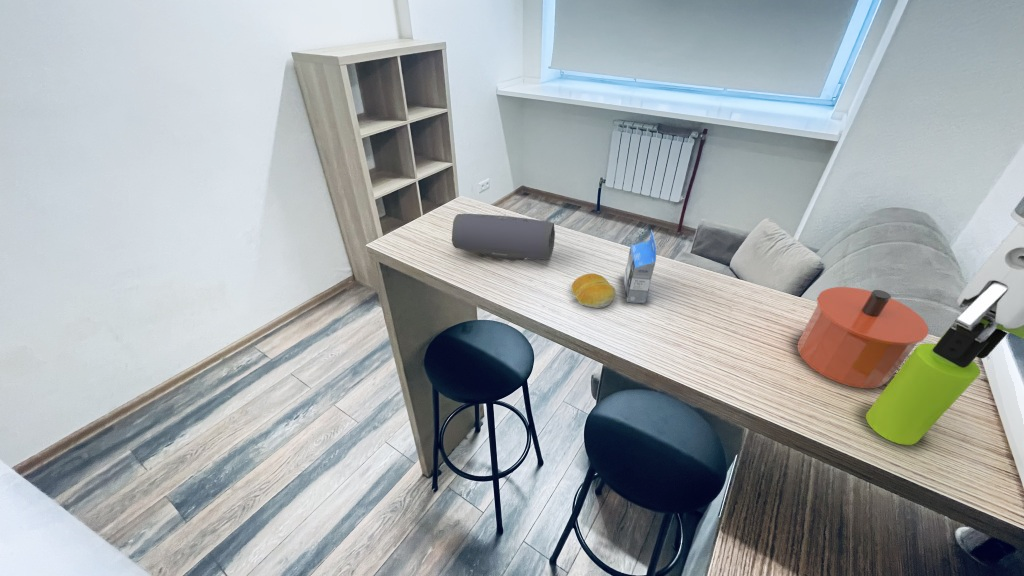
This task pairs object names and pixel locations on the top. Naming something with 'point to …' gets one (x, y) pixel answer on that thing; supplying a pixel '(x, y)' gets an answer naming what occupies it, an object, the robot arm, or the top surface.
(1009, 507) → the top surface
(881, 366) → the pot
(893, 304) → the pot lid
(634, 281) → the label tape box
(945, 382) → the soap dispenser
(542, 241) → the bluetooth speaker
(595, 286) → the bread roll
